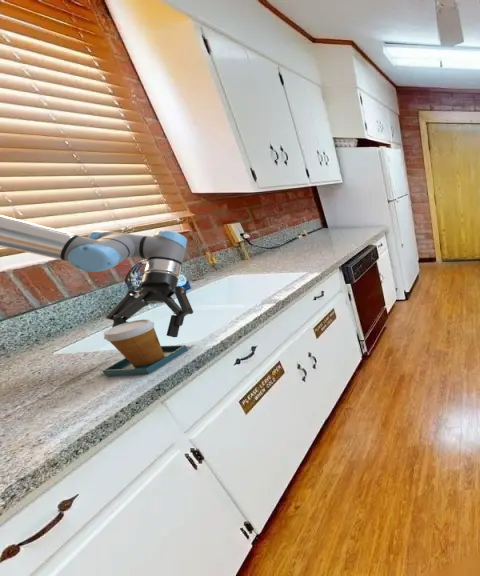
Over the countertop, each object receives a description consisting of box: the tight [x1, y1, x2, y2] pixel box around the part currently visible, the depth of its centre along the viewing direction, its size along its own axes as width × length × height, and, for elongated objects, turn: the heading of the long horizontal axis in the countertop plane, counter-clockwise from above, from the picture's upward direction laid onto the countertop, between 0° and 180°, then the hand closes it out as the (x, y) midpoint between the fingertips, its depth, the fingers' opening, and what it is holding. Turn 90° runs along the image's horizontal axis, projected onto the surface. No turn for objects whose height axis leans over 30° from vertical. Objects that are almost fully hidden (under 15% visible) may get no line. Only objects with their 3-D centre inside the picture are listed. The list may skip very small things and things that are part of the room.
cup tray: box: [101, 344, 189, 377], centre depth 89 cm, size 12×12×2 cm
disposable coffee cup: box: [103, 318, 164, 367], centre depth 87 cm, size 10×10×12 cm
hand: (144, 339), depth 89 cm, fingers open, 13 cm apart
